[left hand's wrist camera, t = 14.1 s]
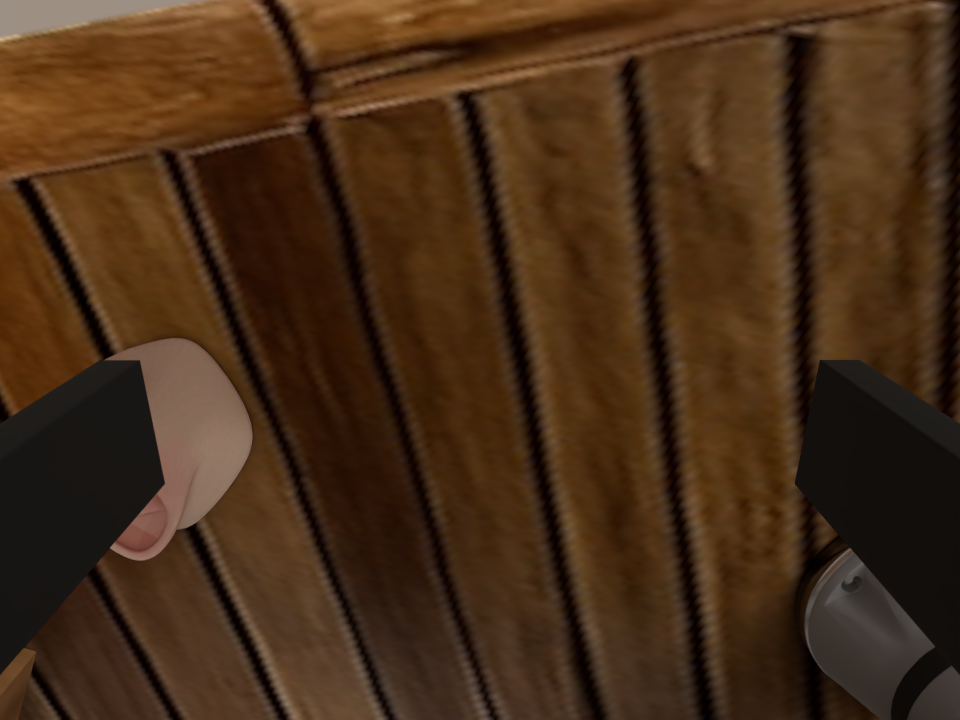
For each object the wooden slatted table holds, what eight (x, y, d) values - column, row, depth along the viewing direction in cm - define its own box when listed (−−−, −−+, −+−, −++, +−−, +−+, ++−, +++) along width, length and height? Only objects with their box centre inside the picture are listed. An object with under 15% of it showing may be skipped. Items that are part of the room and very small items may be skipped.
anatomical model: (120, 325, 34) (280, 462, 37) (155, 305, 38) (298, 431, 41) (-16, 468, 38) (141, 584, 41) (29, 436, 41) (170, 545, 44)
